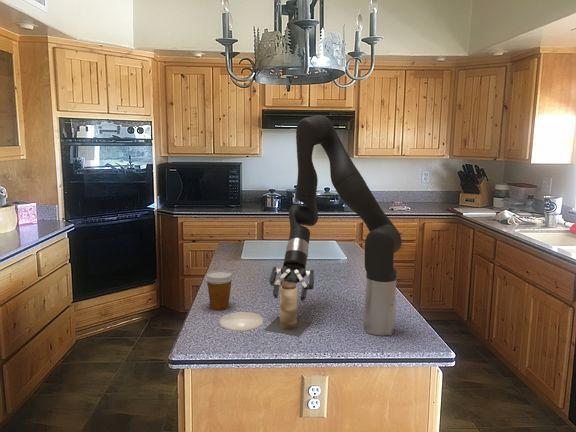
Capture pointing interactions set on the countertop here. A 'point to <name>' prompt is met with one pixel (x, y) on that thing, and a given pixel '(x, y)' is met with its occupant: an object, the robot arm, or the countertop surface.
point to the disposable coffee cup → (219, 289)
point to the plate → (241, 321)
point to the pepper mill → (288, 305)
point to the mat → (296, 331)
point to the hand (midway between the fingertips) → (288, 298)
